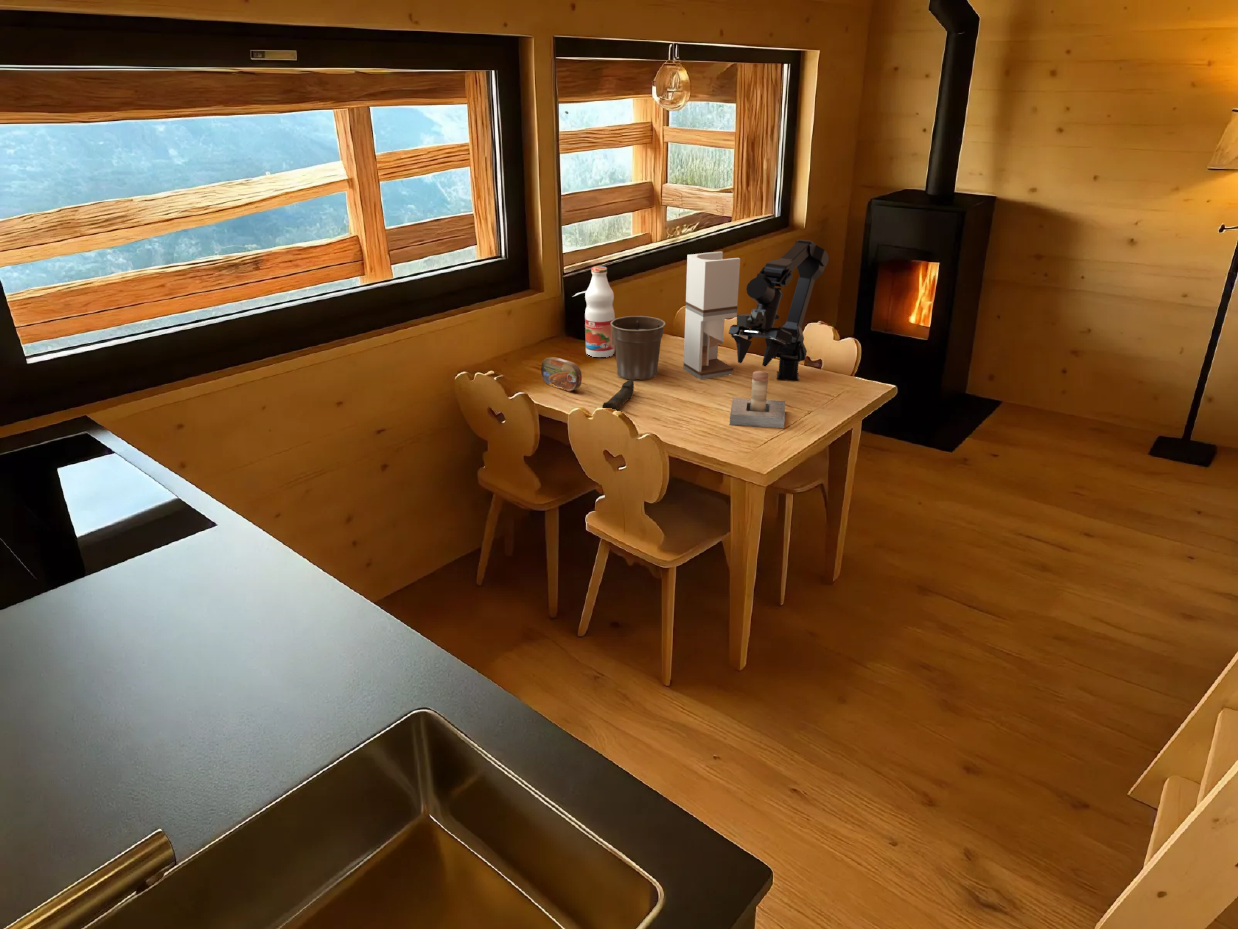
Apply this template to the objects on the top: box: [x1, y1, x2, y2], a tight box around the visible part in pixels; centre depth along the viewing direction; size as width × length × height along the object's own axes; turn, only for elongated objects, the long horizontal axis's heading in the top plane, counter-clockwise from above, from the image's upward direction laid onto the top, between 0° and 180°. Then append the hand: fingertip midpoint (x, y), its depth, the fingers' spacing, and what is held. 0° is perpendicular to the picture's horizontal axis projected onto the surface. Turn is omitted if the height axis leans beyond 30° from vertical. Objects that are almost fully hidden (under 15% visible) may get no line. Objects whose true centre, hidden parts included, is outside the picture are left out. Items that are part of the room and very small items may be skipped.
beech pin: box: [750, 370, 769, 412], centre depth 222 cm, size 4×4×12 cm
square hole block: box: [729, 397, 786, 429], centre depth 225 cm, size 12×14×3 cm
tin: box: [540, 356, 583, 392], centre depth 245 cm, size 15×3×8 cm, turn 47°
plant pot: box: [611, 315, 666, 381], centre depth 253 cm, size 16×16×16 cm
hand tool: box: [602, 379, 635, 411], centre depth 234 cm, size 19×4×5 cm, turn 157°
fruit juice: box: [584, 265, 616, 358], centre depth 268 cm, size 9×9×28 cm
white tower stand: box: [683, 251, 741, 380], centre depth 251 cm, size 11×11×35 cm
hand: (751, 364), depth 230 cm, fingers open, 9 cm apart
